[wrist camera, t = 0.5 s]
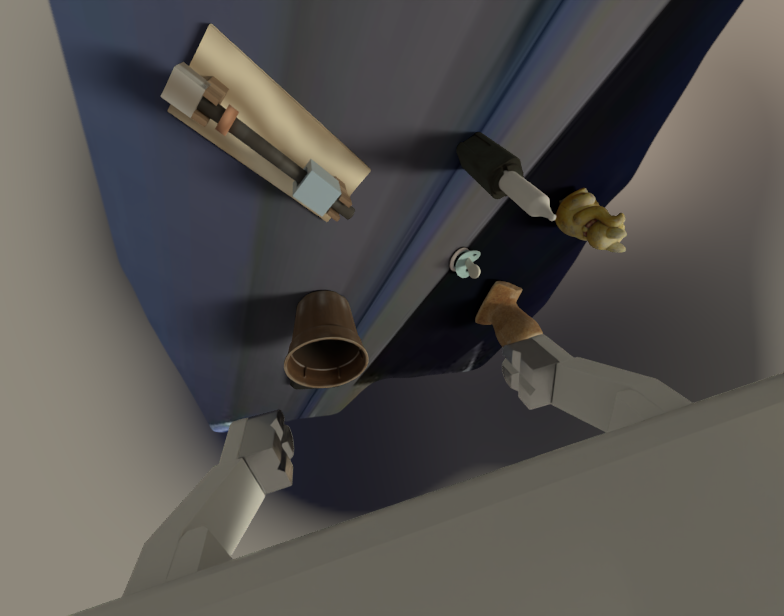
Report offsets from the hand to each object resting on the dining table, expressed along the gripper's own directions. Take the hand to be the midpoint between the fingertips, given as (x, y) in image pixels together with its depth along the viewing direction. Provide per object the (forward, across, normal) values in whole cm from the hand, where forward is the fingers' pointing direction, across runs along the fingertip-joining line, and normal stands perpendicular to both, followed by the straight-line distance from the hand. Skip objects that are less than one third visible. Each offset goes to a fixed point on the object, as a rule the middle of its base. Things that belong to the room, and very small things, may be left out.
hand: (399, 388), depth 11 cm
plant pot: (+59, +7, +25) cm, 64 cm away
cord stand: (+48, +5, -10) cm, 49 cm away
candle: (+49, -27, -3) cm, 56 cm away
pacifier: (+56, -27, +19) cm, 64 cm away
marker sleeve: (+44, +1, -3) cm, 44 cm away
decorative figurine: (+52, -50, +12) cm, 73 cm away
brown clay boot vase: (+60, -38, +35) cm, 79 cm away
